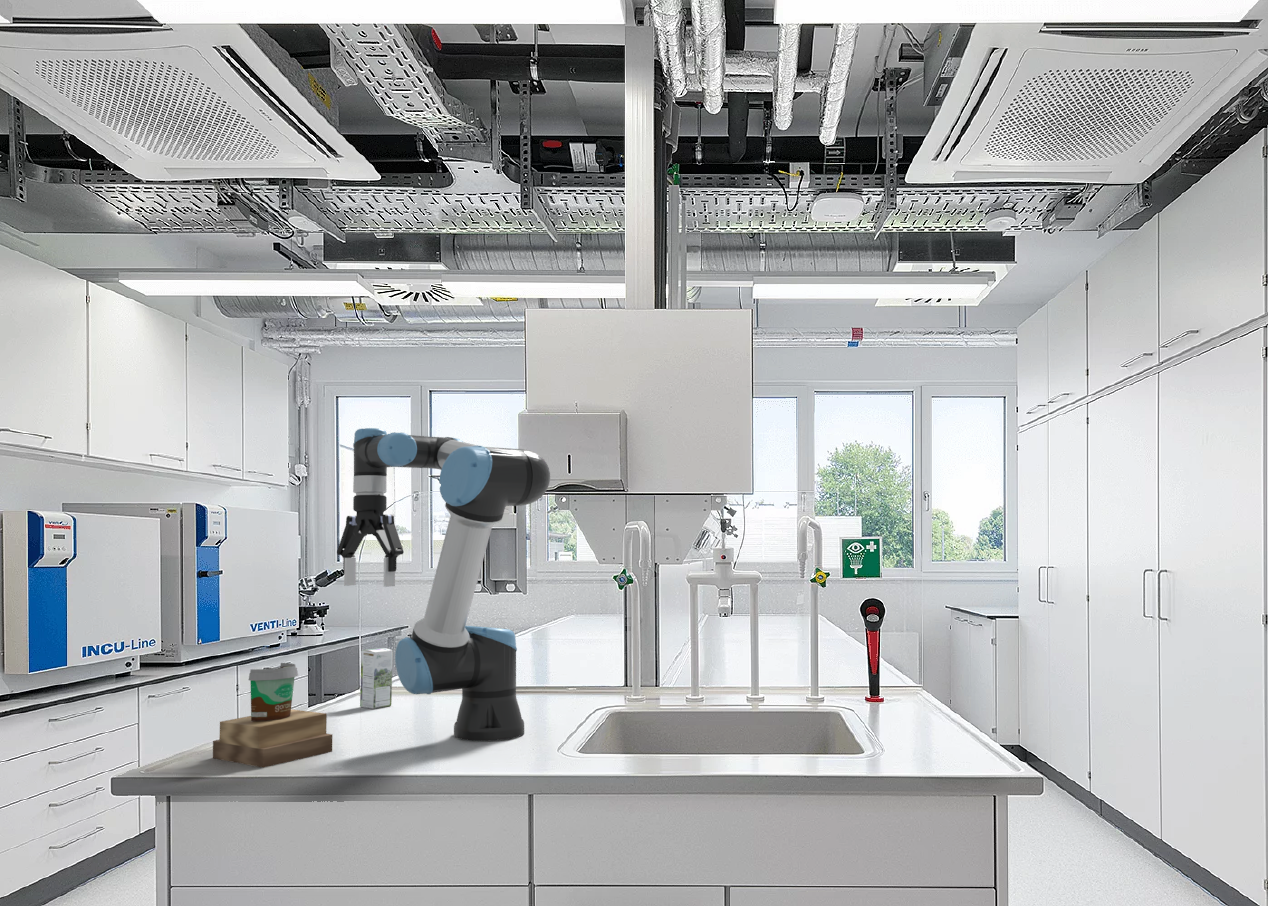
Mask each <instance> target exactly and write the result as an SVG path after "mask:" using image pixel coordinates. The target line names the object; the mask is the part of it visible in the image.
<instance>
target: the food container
mask: <svg viewBox="0 0 1268 906" xmlns="http://www.w3.org/2000/svg"><path fill="white" fill-rule="evenodd" d="M298 676H299V673H298V668H297V667H296V664H295V663H288V662H281V663H280V667H277V668H270V667H269V668H265V669H264V668H259V669H257V668H256V669H255V668H254V669H253V668H252V669H250V670H249V676H248V681H250V716H251V721H267V720H277V719H283V718H287V717H290V714H291V709H292V703H293V694H294V685H295V677H298Z"/></svg>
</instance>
